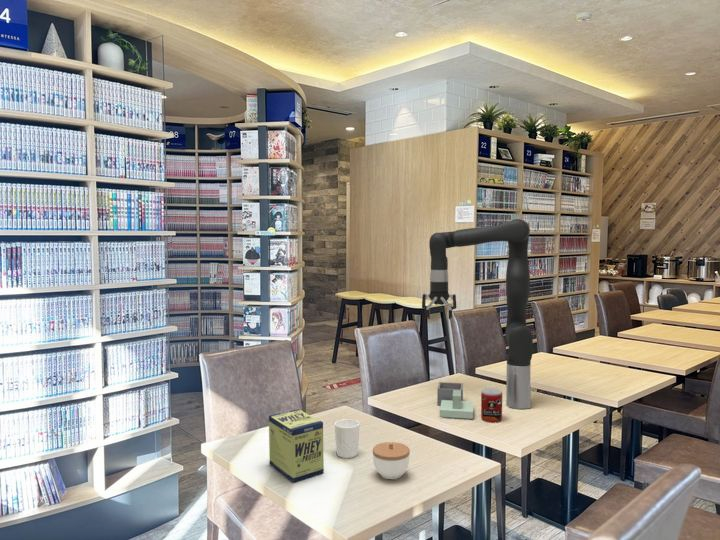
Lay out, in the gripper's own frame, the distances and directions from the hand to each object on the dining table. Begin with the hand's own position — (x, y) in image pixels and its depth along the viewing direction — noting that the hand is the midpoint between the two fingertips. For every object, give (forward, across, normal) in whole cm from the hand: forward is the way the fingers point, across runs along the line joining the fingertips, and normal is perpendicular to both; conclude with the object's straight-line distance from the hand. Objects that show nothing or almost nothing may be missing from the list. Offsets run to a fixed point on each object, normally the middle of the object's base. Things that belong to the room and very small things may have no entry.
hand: (439, 318), depth 224 cm
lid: (+34, -8, +18) cm, 39 cm away
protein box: (+34, +38, +76) cm, 92 cm away
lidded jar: (+34, +9, +75) cm, 83 cm away
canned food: (+34, -21, +22) cm, 46 cm away
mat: (+34, -8, +18) cm, 39 cm away
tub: (+34, -5, +5) cm, 35 cm away
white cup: (+34, +25, +63) cm, 76 cm away
